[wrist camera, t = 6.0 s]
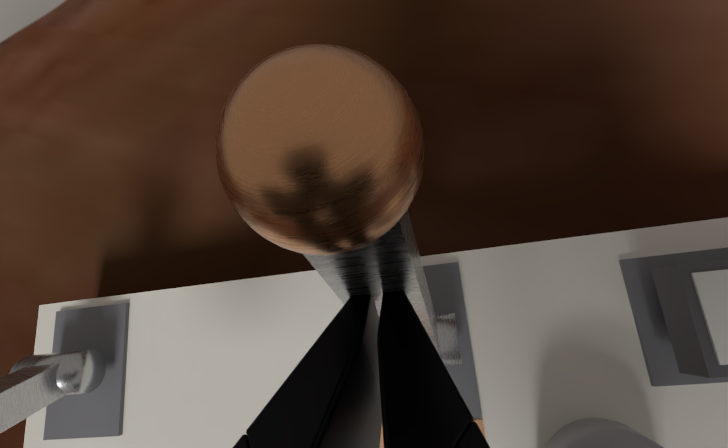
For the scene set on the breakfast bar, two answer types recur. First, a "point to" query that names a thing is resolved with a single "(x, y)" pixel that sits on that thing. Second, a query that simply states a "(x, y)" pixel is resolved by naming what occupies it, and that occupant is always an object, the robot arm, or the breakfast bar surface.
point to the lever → (47, 382)
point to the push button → (599, 435)
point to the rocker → (696, 314)
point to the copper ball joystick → (332, 173)
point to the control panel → (449, 295)
